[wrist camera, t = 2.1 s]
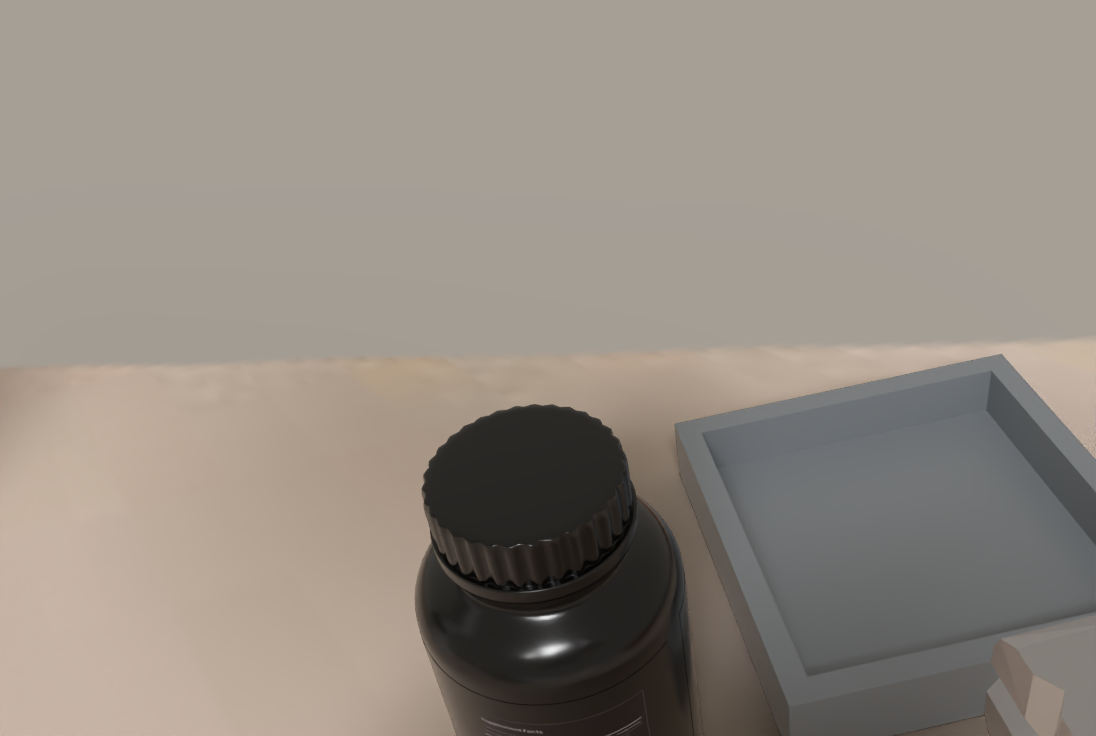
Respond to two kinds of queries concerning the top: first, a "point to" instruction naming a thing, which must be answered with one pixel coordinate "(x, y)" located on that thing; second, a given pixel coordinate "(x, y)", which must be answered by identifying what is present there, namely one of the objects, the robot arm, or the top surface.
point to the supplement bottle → (552, 585)
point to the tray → (893, 540)
